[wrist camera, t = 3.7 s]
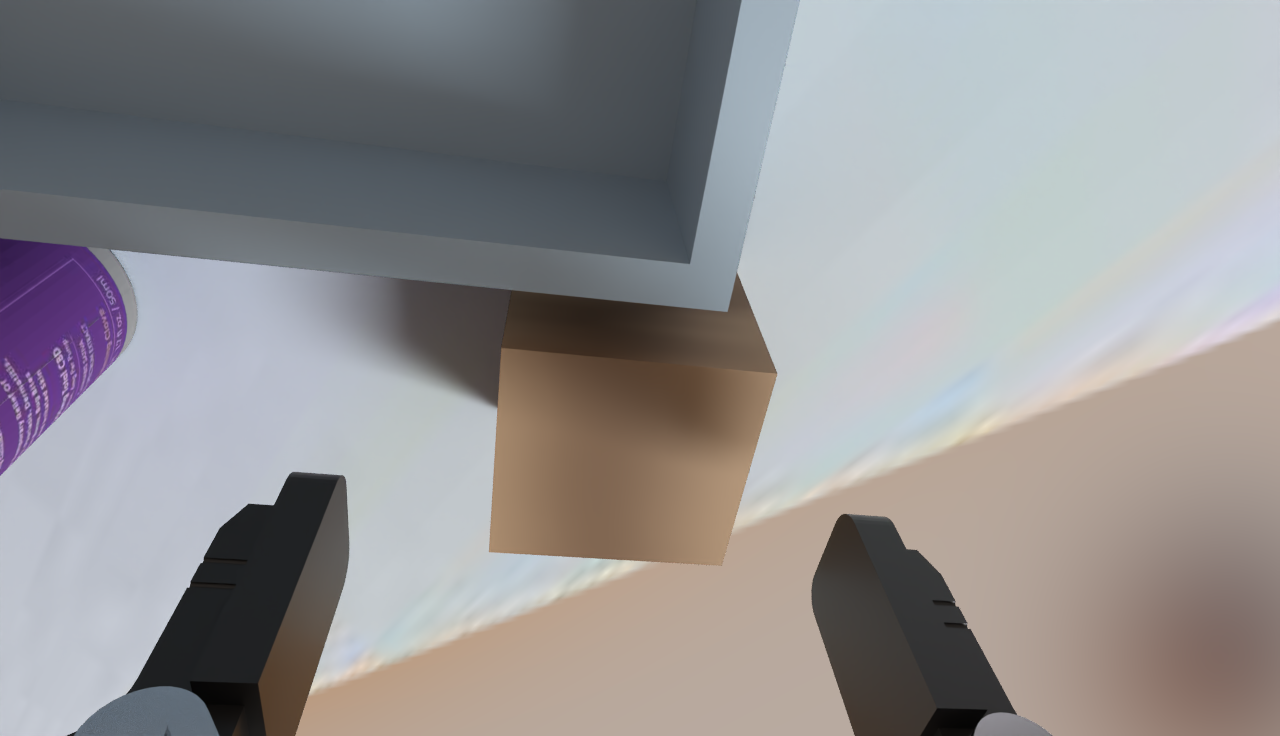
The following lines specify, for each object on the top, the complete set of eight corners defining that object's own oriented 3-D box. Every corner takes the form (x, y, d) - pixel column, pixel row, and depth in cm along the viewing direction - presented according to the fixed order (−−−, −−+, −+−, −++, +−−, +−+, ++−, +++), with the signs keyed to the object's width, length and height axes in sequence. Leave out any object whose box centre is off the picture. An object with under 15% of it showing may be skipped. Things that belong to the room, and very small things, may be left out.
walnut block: (732, 260, 18) (777, 374, 14) (693, 427, 21) (721, 565, 16) (521, 236, 17) (500, 347, 13) (509, 412, 20) (489, 552, 16)
